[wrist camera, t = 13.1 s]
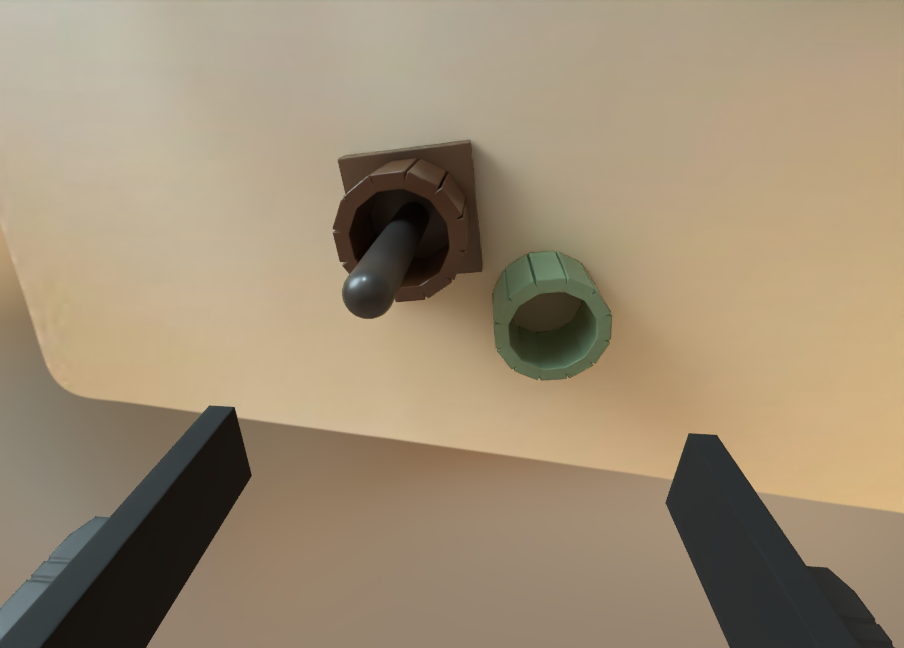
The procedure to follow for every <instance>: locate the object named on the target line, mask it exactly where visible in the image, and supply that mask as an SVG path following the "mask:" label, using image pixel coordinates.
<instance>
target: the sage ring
mask: <svg viewBox="0 0 904 648" xmlns="http://www.w3.org/2000/svg"><path fill="white" fill-rule="evenodd" d="M555 292H565V293H567V294H570V295H572V296H574V297H577V298H579V299H581V306H580V307H579V309H578V311H577V312H576V314H575V315H574V317H573V319H572V320H571V322H569V323H567V324H565V325H564V326H562V327H560V328H559V329H557V330H555V331H551V332H538V333H534V332H532V331H530V330H527V329H525V328H522V327H520V326H518V325H517V324H516V323H515V321H514V320H513V319H512V318H513V316H514V314H515V313H516V311H517V309H518V307H519V306H520V305H522V304H524V303H525V302H527V301H529V300H530V299H532V298H533V297H535V296H537V295H538V294H543V293H555ZM610 313H611V311H610V309H609V308H608V306H607V304H606V302H605V301H604V299H603V297H602V295H601V294H600V292H599V290H598V289H597V287H596V285H595V283H594V282H593V280H592V278H591V277H590V275H589V274H588V272H587V271H586V269H585V268H584V266H583V265H582V263H580V262H579V261H578V260H576V259H573V258H571V257H569V256H567V255H564V254H562V253H560V252H556V254H555V252H554V251H547V252H537V253H529V257H528V256H527V255H524V256H523V257H521V258H520V259H518V260H517V261H515V262H514V263H512V264H511V265H509V266H508V267H506V271H505V270H504V271H503V272H502V274H501V276H500V278H499V280H498V282H497V284H496V286H495V288H494V293H493V319H494V334H495V345H496V348H497V351H498V353H499V354H500V355H501V356H502V358H503V359H504V360H505V361H506V363H507V364H508V365H509V366H510V368H511V369H513V368H514V371H516V372H518V373H521V374H523V375H526V376H528V377H531V378H533V379H535V380H538V378H539V377H540V380H557V379H566V378H567V376H568V377H569V378H571V377H573V376H575V375H577V374H578V373H580V372H582V371H584V370H586V369H588V368H590V367H591V366H593V364H592V363H596V362H597V361H598V359H599V358H600V356H601V355H602V353H603V352H604V351H605V349H606V348H607V346H608V345H609V343H610V342H609V340H610V339H611V325H612V315H611V314H610Z"/></svg>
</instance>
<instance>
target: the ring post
mask: <svg viewBox="0 0 904 648" xmlns="http://www.w3.org/2000/svg"><path fill="white" fill-rule="evenodd" d="M414 158H417V159H418V161H419V160H420V159H423V160H425V161H427V162H429V163H432V164H434V165H436V166H438V167H440V168H443V169H445V170H446V174H448V173H450V174H451V175H452V177H453V178H454V180H455V181H456V182H457V184H458V185H459V187H460V188H461V189H462V191H463V192H464V194H465V195H466V196H465V199H467V202H468V212H469V221H470V228H469V236H468V244H467V250H466V255H465V257H464V259H463V262H462V264H461V266H460V268H459V270H458V272H457V274H461V273H472V272H482V270H483V262H482V252H481V241H480V231H479V220H478V210H477V199H476V189H475V178H474V168H473V158H472V147H471V140H465V141H457V142H449V143H441V144H433V145H425V146H417V147H409V148H402V149H394V150H386V151H378V152H370V153H362V154H354V155H346V156H343V157H341V158H338V163H339V168H340V172H341V176H342V181H343V185H344V190H345V194H346V193H348V192H349V191H350V190H351V189H352V188H354V187H355V186H356V185H357V184H358V183H360V182H361V181H362V180H363V179H364V178H366V177H367V176H368V175H370V174H371V173H373V172H374V171H375V170H377V169H378V168H380V167H381V166H383V165H384V164H386V163H389V162H391V161H397V160H405V159H414ZM446 174H445V175H446ZM371 216H372V221H373V226H374V231H375V234H376V235H377V237H378V238H377V239H376V241H375V242H374V243H373V244H372V246H371V247H370V248H369V250H368V251H367V252H366V254H365V255H364V256H363V258H362V259H361V260H360V262H359V263H358V264H357V266H356V267H355V268H354V269H353V271H352V272H351V273H350V275H349V276H348V277H347V279H346V280H345V282H344V285H343V289H342V297H343V301H344V303H345V305H346V307H347V308H348V310H349V311H350V312H351V313H353V314H354V315H356V316H358V317H360V318H364V319H373V318H377V317H380V316H382V315H383V314H385V313H386V312H387V311H388V310H389V308H390V307H391V305H392V303H393V301H394V299H395V297H396V294H397V292H398V290H399V288H400V286H401V283H402V281H403V279H404V277H405V274H406V272H407V270H408V268H409V266H410V263H411V261H412V259H413V258H423V257H430V256H432V255H433V254H435V253H436V252H437V251H439V250H440V249H442V248H443V247H444V246H446V245H447V243H448V241H449V239H448V231H447V223H446V222H445V220H444V219H443V218H442V216H441V215H440V214H439V212H438V211H437V210H436V208H435V207H434V206H433V204H432V203H431V202H430V200H427V199H425V198H423V197H421V196H418V195H416V194H414V193H412V192H409V191H407V190H405V189H402V190H393V191H384V192H377V194H376V197H375V200H374V203H373V206H372V209H371Z"/></svg>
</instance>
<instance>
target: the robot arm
mask: <svg viewBox="0 0 904 648" xmlns="http://www.w3.org/2000/svg"><path fill="white" fill-rule="evenodd" d="M251 476H252V475H251V471H250V467H249V463H248V459H247V455H246V451H245V447H244V443H243V439H242V435H241V431H240V427H239V423H238V419H237V415H236V411H235V407H224V406H209V407H208V408H207V409H206V410H205V411H204V412H203V413H202V414H201V416H200V417H199V418H198V419H197V420H196V421H195V422H194V424H193V425H192V426H191V427H190V428H189V429H188V430H187V431H186V432H185V434H184V435H183V436H182V437H181V438H180V439H179V440H178V442H176V444H175V445H174V446H173V447H172V448H171V449H170V450H169V451H168V453H167V454H166V455H165V456H164V457H163V458H162V459H161V460H160V462H159V463H158V464H157V465H156V466H155V467H154V468H153V469H152V471H151V472H150V473H149V474H148V475H147V476H146V477H145V478H144V479H143V481H142V482H141V483H140V484H139V485H138V486H137V487H136V488H135V490H134V491H133V492H132V493H131V494H130V495H129V496H128V497H127V499H126V500H125V501H124V502H123V503H122V504H121V505H120V507H118V509H117V510H116V511H115V512H114V513H113V514H112V515H111V516H110V517H95V518H93V519H92V520H90V521H89V522H87V523H86V524H84V525H83V526H81V527H80V528H79V529H77V530H76V531H74V532H73V533H71V534H70V535H69V536H68V537H67V538H66V539H65V540H64V541H63V542H62V543H61V544H60V545H59V547H57V549H56V550H55V551H54V552H53V553H52V554H51V555H50V556H49V559H48V561H44V562H43V563H42V564H41V566H40V567H39V568H38V569H37V570H36V571H35V572H34V573H33V574H32V575H31V578H30V579H29V580H26V581H25V582H24V583H23V584H22V585H21V587H20V588H19V589H18V590H17V591H16V592H15V593H14V594H13V595H12V596H11V597H10V598H9V599H8V600H7V601H6V602H5V603H4V604H3V605H2V607H1V608H0V648H146V647H147V645H148V643H149V642H150V640H151V638H152V637H153V635H154V634H155V632H156V630H157V629H158V627H159V625H160V624H161V622H162V620H163V619H164V617H165V616H166V614H167V612H168V611H169V609H170V608H171V606H172V604H173V603H174V601H175V599H176V598H177V596H178V594H179V593H180V591H181V590H182V588H183V586H184V585H185V583H186V582H187V580H188V578H189V576H190V575H191V573H192V572H193V570H194V569H195V567H196V565H197V564H198V562H199V560H200V559H201V557H202V555H203V554H204V552H205V551H206V549H207V547H208V546H209V544H210V542H211V541H212V539H213V538H214V536H215V534H216V533H217V531H218V530H219V528H220V526H221V525H222V523H223V521H224V520H225V518H226V517H227V515H228V513H229V511H230V510H231V508H232V507H233V505H234V504H235V502H236V500H237V499H238V496H240V494H241V492H242V491H243V489H244V487H245V486H246V484H247V483H248V481H249V479H250V478H251ZM666 505H667V507H668V509H669V512H670V514H671V516H672V519H673V521H674V523H675V525H676V528H677V530H678V532H679V534H680V537H681V539H682V541H683V543H684V545H685V548H686V550H687V552H688V554H689V557H690V559H691V561H692V564H693V566H694V568H695V570H696V573H697V575H698V577H699V579H700V581H701V584H702V586H703V588H704V591H705V593H706V595H707V597H708V599H709V602H710V604H711V606H712V609H713V611H714V613H715V615H716V617H717V620H718V622H719V624H720V627H721V629H722V631H723V633H724V636H725V638H726V640H727V642H728V645H729V647H730V648H894V647H893V645H892V641H891V640H890V638H889V637H888V636H887V634H886V633H885V632H884V630H883V629H882V628H881V626H880V625H879V624H876V622H875V618H874V617H873V615H872V614H871V613H870V612H869V610H868V609H867V607H866V606H865V605H864V603H863V602H862V601H861V599H860V598H859V597H858V595H857V594H856V593H855V591H853V590H852V589H851V588H850V587H849V586H848V585H847V584H846V583H844V582H843V581H842V580H841V579H840V578H839V577H838V576H836V575H835V574H834V573H833V572H832V571H831V570H830V569H828V568H824V567H810V566H806V565H805V564H804V562H803V561H802V559H801V557H800V556H799V555H798V553H797V552H796V550H795V549H794V547H793V546H792V544H791V543H790V541H789V540H788V539H787V537H786V536H785V534H784V533H783V531H782V530H781V528H780V527H779V525H778V524H777V523H776V521H775V520H774V518H773V517H772V515H771V514H770V512H769V511H768V509H767V508H766V506H765V505H764V503H763V502H762V500H761V499H760V498H759V496H758V495H757V493H756V492H755V490H754V489H753V487H752V486H751V484H750V483H749V481H748V480H747V479H746V477H745V476H744V474H743V473H742V471H741V470H740V468H739V467H738V465H737V464H736V462H735V461H734V460H733V458H732V457H731V455H730V454H729V452H728V451H727V449H726V448H725V446H724V445H723V443H722V442H721V441H720V439H719V438H718V436H717V435H708V434H691V433H689V434H688V437H687V440H686V443H685V446H684V449H683V452H682V455H681V458H680V461H679V464H678V467H677V470H676V473H675V476H674V479H673V482H672V485H671V488H670V491H669V494H668V497H667V500H666Z"/></svg>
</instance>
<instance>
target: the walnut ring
mask: <svg viewBox="0 0 904 648" xmlns="http://www.w3.org/2000/svg"><path fill="white" fill-rule="evenodd" d="M445 174H446V170H445V169H443V168H440V167H438V166H436V165H434V164H432V163H429V162H427V161H425V160H423V159H420V160H419V161H418V159H417V158H414V159H405V160H397V161H391V162H389V163H386V164H384V165H383V166H381V167H380V168H378V169H377V170H375V171H374V172H373V173H371V174H370V175H368V176H367V177H366V178H364V179H363V180H362V181H361V182H360V183H358V184H357V185H356V186H355V187H354V188H352V189H351V190H350V191H349V192H348V193H346V194H345V195H344V198H343V199H342V200H341V202H340V206H339V209H338V212H337V216H336V219H335V222H334V226H333V229H334V230H335V231H334V232H333V236H334V240H335V244H336V248H337V252H338V256H339V260H340V262H344V263H343V264H342V266H343V267H344V268H345V269H346V271H347V272H348V273H349V274H350V273H351V272H352V271H353V269H354V268H355V267H356V266H357V264H358V263H359V262H360V260H361V259H362V258H363V256H364V255H365V254H366V252H367V251H368V250H369V248H370V247H371V246H372V244H373V243H374V242H375V241H376V239H377V238H378V237H377V235H376V234H375V231H374V226H373V221H372V216H371V209H372V206H373V203H374V200H375V197H376V194H377V192H384V191H393V190H402V189H405V190H407V191H409V192H412V193H414V194H416V195H418V196H421V197H423V198H425V199H427V200H430V202H431V203H432V204H433V206H434V207H435V208H436V210H437V211H438V212H439V214H440V215H441V216H442V218H443V219H444V220H445V222H446V223H447V231H448V239H449V241H448V243H447V245H446V246H444V247H443V248H442V249H440V250H439V251H437V252H436V253H435V254H433V255H432V256H430V257H423V258H413V259H412V261H411V263H410V266H409V268H408V270H407V272H406V274H405V277H404V279H403V281H402V283H401V286H400V288H399V290H398V292H397V294H396V297H395V301H396V302H404V301H416V300H425V297H427V298H430V297H431V296H433V295H434V294H435V293H437V292H438V291H440V290H441V289H443V288H444V287H446V286H447V285H449V284H450V283H451V282H452V280H454V279H455V277H456V275H457V272H458V270H459V268H460V266H461V264H462V262H463V259H464V257H465V255H466V250H467V244H468V236H469V228H470V221H469V212H468V202H467V199H465V196H466V195H465V194H464V192H463V191H462V189H461V188H460V187H459V185H458V184H457V182H456V181H455V180H454V178H453V177H452V175H451V174H450V173H448V174H446V175H445Z"/></svg>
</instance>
